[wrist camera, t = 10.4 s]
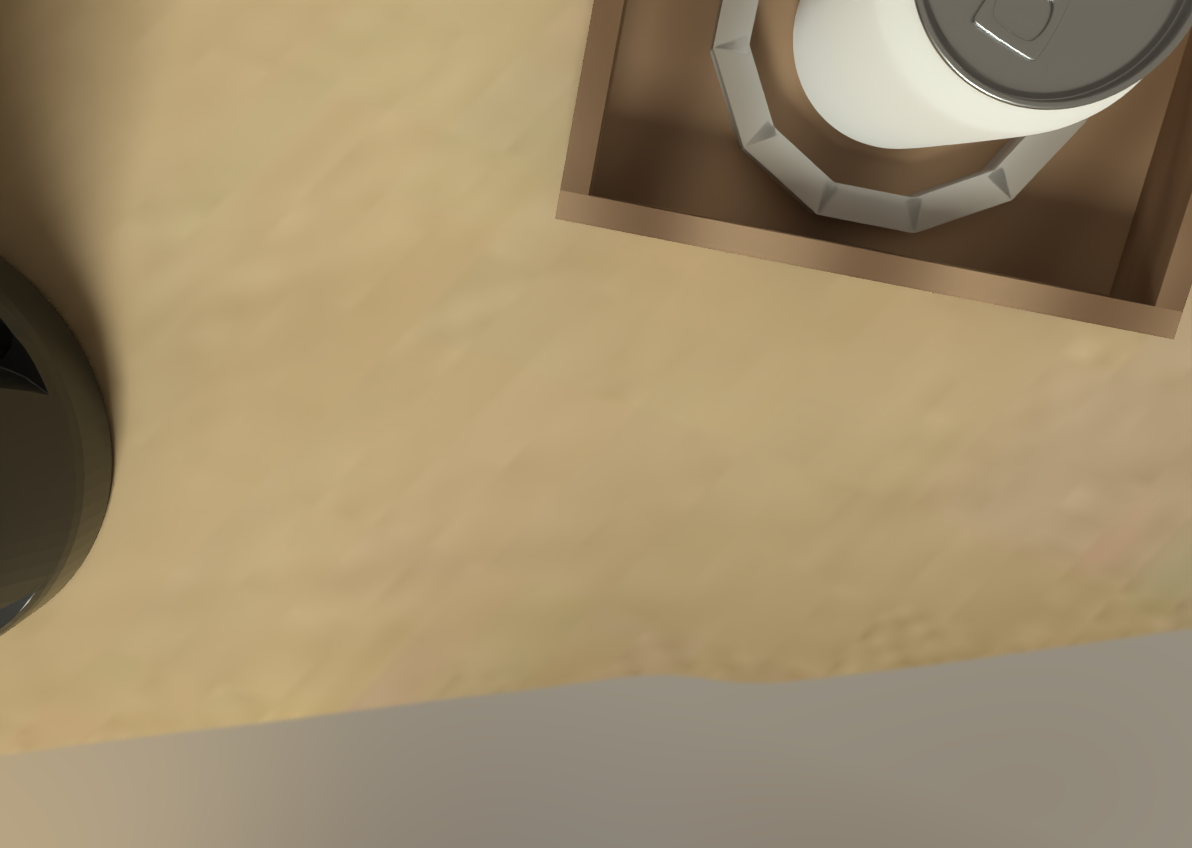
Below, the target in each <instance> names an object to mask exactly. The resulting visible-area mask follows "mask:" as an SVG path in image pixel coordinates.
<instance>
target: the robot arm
mask: <svg viewBox="0 0 1192 848" xmlns="http://www.w3.org/2000/svg"><path fill="white" fill-rule="evenodd" d="M111 471H112V451H111V439H110V430H109V424H108V419H107V414H106V410H105V406H104V402H103V398H102V395H101V392H100V389H99V386H98V383H97V380H96V378H95V376H94V373H93V371H92V369H91V366H90V364H89V362H88V360H87V358H86V356H85V354H84V352H83V350H82V348H81V347H80V345H79V343H78V341H77V340H76V338H75V336H74V335H73V333H72V332H71V330H70V329H69V327H68V326H67V324H66V323H65V321H64V320H63V318H62V317H61V316H60V315H59V313H58V312H57V311H56V310H55V308H54V307H53V306H52V305H51V303H50V302H49V301H48V300H47V299H46V298H45V297H44V296H43V295H42V293H41V292H40V291H39V290H38V289H37V288H36V287H35V286H34V285H33V284H32V283H31V282H30V281H29V280H28V279H27V278H25V277H24V276H23V275H22V274H21V273H20V272H18V271H17V270H16V269H15V268H14V267H13V266H11V265H10V264H9V263H7V262H6V261H5V260H3V259H2V258H1V257H0V636H1V635H3V634H4V633H6V632H7V631H8V630H10V629H11V628H13V627H14V626H16V625H17V624H18V623H20V622H21V621H22V620H24V619H25V618H27V617H28V616H29V615H31V614H32V613H34V612H35V611H36V610H38V609H39V608H40V607H42V606H43V605H44V604H46V603H47V602H48V601H49V600H50V599H52V598H53V597H54V596H55V595H56V594H57V593H58V592H59V591H60V590H61V589H62V588H63V587H64V586H65V585H66V584H67V583H68V582H69V580H70V579H71V578H72V577H73V576H74V574H75V573H76V572H77V570H78V569H79V568H80V566H81V565H82V563H83V562H84V560H85V558H86V557H87V555H88V553H89V552H90V550H91V548H92V546H93V544H94V542H95V540H96V537H97V535H98V532H99V530H100V527H101V525H102V521H103V518H104V515H105V511H106V507H107V502H108V498H109V492H110V484H111Z"/></svg>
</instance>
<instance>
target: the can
mask: <svg viewBox="0 0 1192 848" xmlns="http://www.w3.org/2000/svg"><path fill="white" fill-rule="evenodd" d="M1191 26H1192V0H800V1H799V4H798V8H797V12H796V16H795V22H794V29H793V52H794V60H795V65H796V70H797V73H798V77H799V80H800V82H801V85H802V87H803V89H804V91H805V93H806V95H807V97H808V99H809V100H810V102H811V104H812V105H813V106H814V108H815V109H816V110H817V112H818V113H819V114H820V115H821V116H822V117H823V118H824V119H825V120H826V121H827V122H828V123H829V124H830V125H831V126H832V127H834V128H835V129H836V130H838V131H839V132H841V133H842V134H844V135H846V136H848V137H849V138H851V139H854V140H856V141H858V142H861V143H864V144H867V145H871V146H875V147H880V148H889V149H909V148H922V147H933V146H943V145H952V144H962V143H971V142H980V141H989V140H997V139H1006V138H1014V137H1021V136H1028V135H1034V134H1039V133H1044V132H1049V131H1053V130H1057V129H1060V128H1063V127H1066V126H1069V125H1072V124H1074V123H1077V122H1079V121H1082V120H1084V119H1086V118H1088V117H1090V116H1092V115H1094V114H1096V113H1098V112H1100V111H1102V110H1103V109H1105V108H1107V107H1108V106H1110V105H1111V104H1113V103H1114V102H1116V101H1117V100H1118V99H1120V98H1121V97H1122V96H1124V95H1125V94H1126V93H1127V92H1129V91H1130V90H1131V89H1132V88H1133V87H1134V86H1135V85H1136V84H1137V83H1138V82H1139V81H1141V79H1142V78H1144V77H1145V76H1146V75H1148V74H1149V73H1150V72H1151V71H1153V70H1154V69H1155V68H1156V67H1157V66H1158V65H1159V64H1161V63H1162V62H1163V61H1164V60H1165V59H1166V58H1167V57H1168V56H1169V55H1170V53H1171V52H1172V51H1173V50H1174V49H1175V48H1176V47H1177V45H1178V44H1179V43H1180V42H1181V40H1182V39H1183V38H1184V36H1185V35H1186V33H1187V32H1188V31H1189V29H1190V28H1191Z"/></svg>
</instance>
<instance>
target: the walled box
mask: <svg viewBox="0 0 1192 848" xmlns="http://www.w3.org/2000/svg"><path fill="white" fill-rule="evenodd" d="M799 1H800V0H594V4H593V9H592V15H591V21H590V26H589V32H588V37H587V43H586V49H585V54H584V60H583V66H582V71H581V77H580V82H579V88H578V94H577V99H576V105H575V111H574V116H573V122H572V127H571V133H570V139H569V144H568V150H567V155H566V161H565V167H564V172H563V178H562V184H561V189H560V195H559V200H558V206H557V212H556V217H555V219H560V220H565V221H571V222H576V223H581V224H586V225H591V226H596V227H601V228H606V229H612V230H617V231H622V232H627V233H632V234H637V235H642V236H647V237H652V238H658V239H663V240H668V241H673V242H678V243H683V244H688V245H693V246H699V247H704V248H709V249H714V250H719V251H724V252H729V253H734V254H739V255H745V256H750V257H755V258H760V259H765V260H770V261H775V262H780V263H786V264H791V265H796V266H801V267H806V268H811V269H816V270H821V271H826V272H832V273H837V274H842V275H847V276H852V277H857V278H862V279H867V280H873V281H878V282H883V283H888V284H893V285H898V286H903V287H908V288H913V289H919V290H924V291H929V292H934V293H939V294H944V295H949V296H954V297H960V298H965V299H970V300H975V301H980V302H985V303H990V304H995V305H1000V306H1006V307H1011V308H1016V309H1021V310H1026V311H1031V312H1036V313H1041V314H1047V315H1052V316H1057V317H1062V318H1067V319H1072V320H1077V321H1082V322H1087V323H1093V324H1098V325H1103V326H1108V327H1113V328H1118V329H1123V330H1128V331H1134V332H1139V333H1144V334H1149V335H1154V336H1159V337H1164V338H1169V339H1174V337H1175V334H1176V331H1177V328H1178V325H1179V322H1180V319H1181V316H1182V312H1183V309H1184V306H1185V303H1186V300H1187V297H1188V294H1189V291H1190V288H1191V285H1192V26H1191V28H1190V29H1189V31H1188V32H1187V33H1186V35H1185V36H1184V38H1183V39H1182V40H1181V42H1180V43H1179V44H1178V45H1177V47H1176V48H1175V49H1174V50H1173V51H1172V52H1171V53H1170V55H1169V56H1168V57H1167V58H1166V59H1165V60H1164V61H1163V62H1162V63H1161V64H1159V65H1158V66H1157V67H1156V68H1155V69H1154V70H1153V71H1151V72H1150V73H1149V74H1148V75H1146V76H1145V77H1144V78H1142V79H1141V81H1139V82H1138V83H1137V84H1136V85H1135V86H1134V87H1133V88H1132V89H1131V90H1130V91H1129V92H1127V93H1126V94H1125V95H1124V96H1122V97H1121V98H1120V99H1118V100H1117V101H1116V102H1114V103H1113V104H1111V105H1110V106H1108V107H1107V108H1105V109H1103V110H1102V111H1100V112H1098V113H1096V114H1094V115H1092V116H1090V117H1088V118H1086V119H1084V120H1082V121H1079V122H1077V123H1074V124H1072V125H1069V126H1066V127H1063V128H1060V129H1057V130H1053V131H1049V132H1044V133H1039V134H1034V135H1028V136H1021V137H1014V138H1006V139H997V140H989V141H980V142H971V143H962V144H952V145H943V146H933V147H922V148H909V149H889V148H880V147H875V146H871V145H867V144H864V143H861V142H858V141H856V140H854V139H851V138H849V137H848V136H846V135H844V134H842V133H841V132H839V131H838V130H836V129H835V128H834V127H832V126H831V125H830V124H829V123H828V122H827V121H826V120H825V119H824V118H823V117H822V116H821V115H820V114H819V113H818V112H817V110H816V109H815V108H814V106H813V105H812V104H811V102H810V100H809V99H808V97H807V95H806V93H805V91H804V89H803V87H802V85H801V82H800V80H799V77H798V73H797V70H796V65H795V60H794V52H793V29H794V22H795V16H796V12H797V8H798V4H799Z"/></svg>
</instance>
